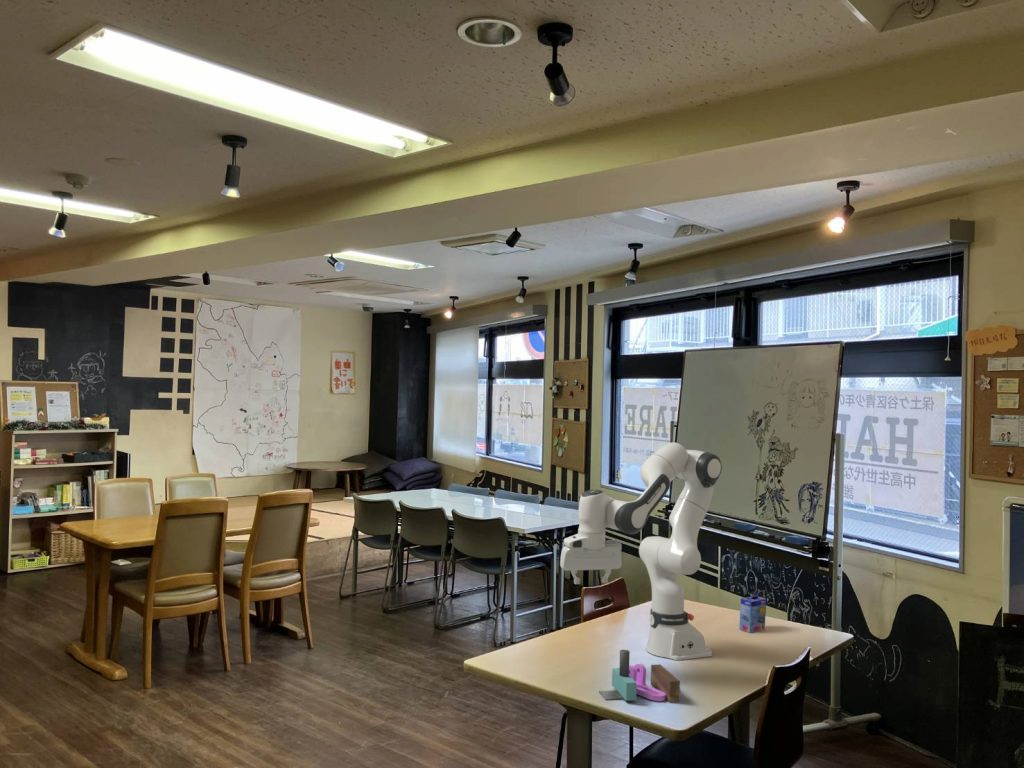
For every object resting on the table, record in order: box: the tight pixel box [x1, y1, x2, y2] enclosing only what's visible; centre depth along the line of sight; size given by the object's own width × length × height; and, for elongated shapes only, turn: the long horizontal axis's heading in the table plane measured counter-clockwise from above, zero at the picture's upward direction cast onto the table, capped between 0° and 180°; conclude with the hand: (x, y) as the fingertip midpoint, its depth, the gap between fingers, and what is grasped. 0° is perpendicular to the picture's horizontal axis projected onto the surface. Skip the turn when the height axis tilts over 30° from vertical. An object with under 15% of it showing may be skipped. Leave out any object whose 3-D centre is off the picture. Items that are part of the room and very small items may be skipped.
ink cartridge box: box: [739, 592, 767, 634], centre depth 290 cm, size 10×6×14 cm, turn 126°
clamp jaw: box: [611, 649, 637, 702], centre depth 219 cm, size 3×12×12 cm, turn 12°
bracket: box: [629, 663, 666, 702], centre depth 221 cm, size 13×6×7 cm, turn 38°
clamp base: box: [598, 664, 681, 704], centre depth 220 cm, size 21×14×6 cm, turn 102°
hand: (590, 583), depth 242 cm, fingers open, 8 cm apart
